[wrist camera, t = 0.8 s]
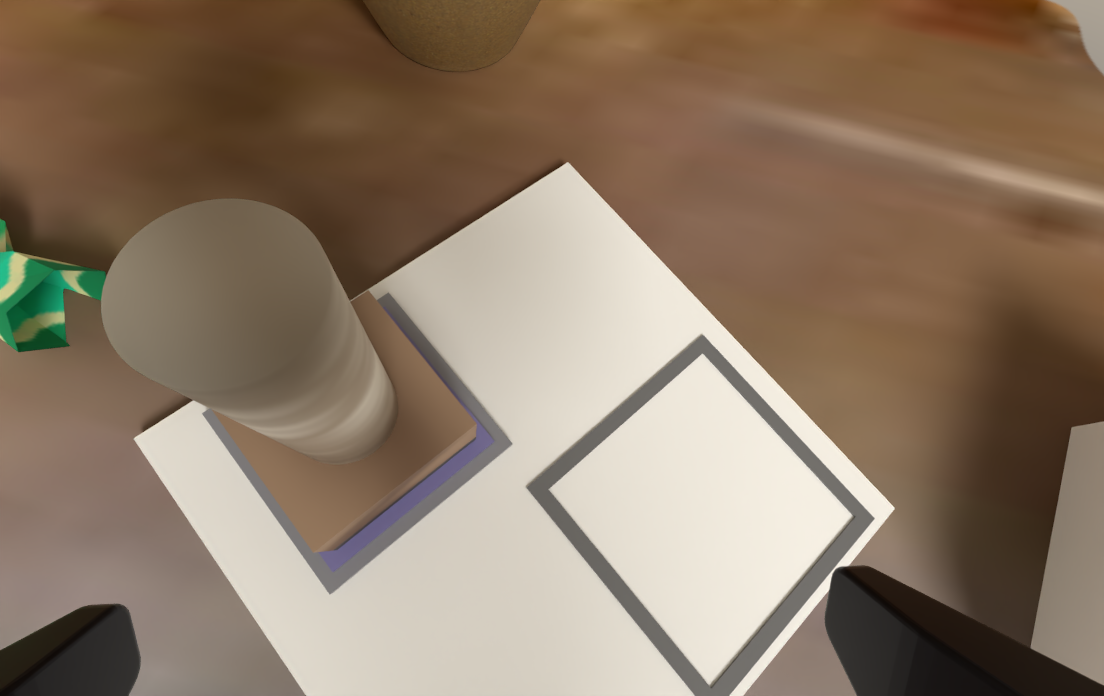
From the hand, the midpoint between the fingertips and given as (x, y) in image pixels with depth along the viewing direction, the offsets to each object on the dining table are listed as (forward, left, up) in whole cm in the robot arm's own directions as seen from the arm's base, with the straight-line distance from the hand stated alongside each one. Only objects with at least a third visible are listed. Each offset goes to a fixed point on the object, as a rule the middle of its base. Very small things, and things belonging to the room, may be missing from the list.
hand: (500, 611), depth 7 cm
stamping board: (+4, +1, -14) cm, 15 cm away
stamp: (0, +7, -13) cm, 14 cm away
